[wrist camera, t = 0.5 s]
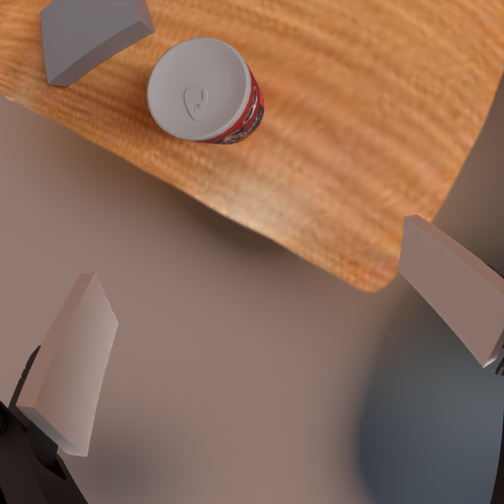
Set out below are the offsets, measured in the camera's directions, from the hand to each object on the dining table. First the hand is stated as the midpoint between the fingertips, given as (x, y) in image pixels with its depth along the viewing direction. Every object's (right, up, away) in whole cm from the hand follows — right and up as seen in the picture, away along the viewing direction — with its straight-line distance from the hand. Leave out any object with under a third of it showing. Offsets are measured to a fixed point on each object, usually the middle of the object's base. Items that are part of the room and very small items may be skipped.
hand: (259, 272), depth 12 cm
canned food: (-3, +16, +17) cm, 23 cm away
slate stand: (-20, +31, +14) cm, 39 cm away
